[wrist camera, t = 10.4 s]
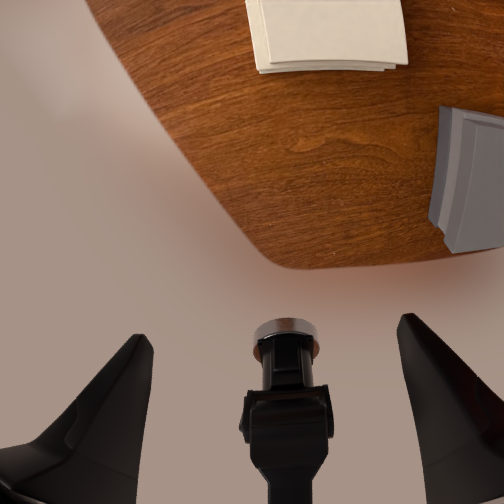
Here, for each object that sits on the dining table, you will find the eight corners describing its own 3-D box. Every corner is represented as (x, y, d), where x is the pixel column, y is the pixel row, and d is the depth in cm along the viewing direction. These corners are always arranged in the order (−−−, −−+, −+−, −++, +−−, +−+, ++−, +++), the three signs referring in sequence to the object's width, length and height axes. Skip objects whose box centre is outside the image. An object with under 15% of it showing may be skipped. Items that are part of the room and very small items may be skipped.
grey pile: (486, 215, 19) (513, 245, 15) (426, 219, 20) (452, 253, 16) (502, 115, 13) (540, 133, 10) (437, 102, 14) (477, 117, 10)
